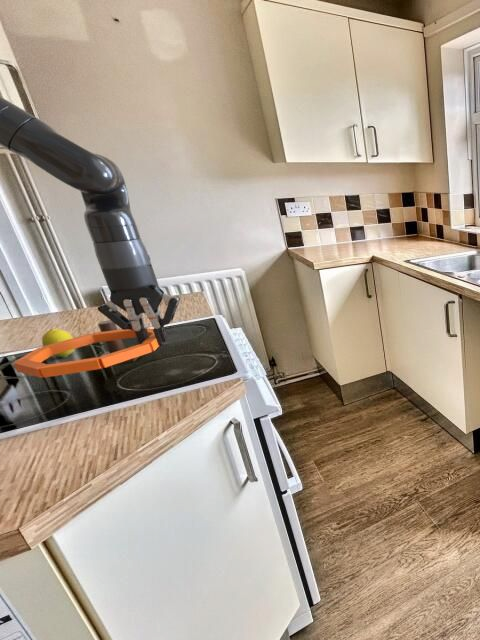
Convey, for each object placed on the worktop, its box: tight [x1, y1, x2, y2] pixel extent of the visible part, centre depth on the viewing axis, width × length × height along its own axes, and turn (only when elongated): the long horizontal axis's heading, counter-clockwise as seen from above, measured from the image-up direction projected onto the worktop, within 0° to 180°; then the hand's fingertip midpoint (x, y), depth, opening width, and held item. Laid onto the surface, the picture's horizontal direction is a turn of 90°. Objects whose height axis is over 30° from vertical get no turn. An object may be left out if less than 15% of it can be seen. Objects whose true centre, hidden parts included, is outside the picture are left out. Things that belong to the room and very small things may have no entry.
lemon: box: [41, 328, 76, 359], centre depth 106 cm, size 6×6×8 cm
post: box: [97, 319, 141, 365], centre depth 104 cm, size 8×8×10 cm
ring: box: [13, 327, 160, 378], centre depth 85 cm, size 21×21×2 cm
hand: (155, 344), depth 89 cm, fingers closed on ring, 2 cm apart
